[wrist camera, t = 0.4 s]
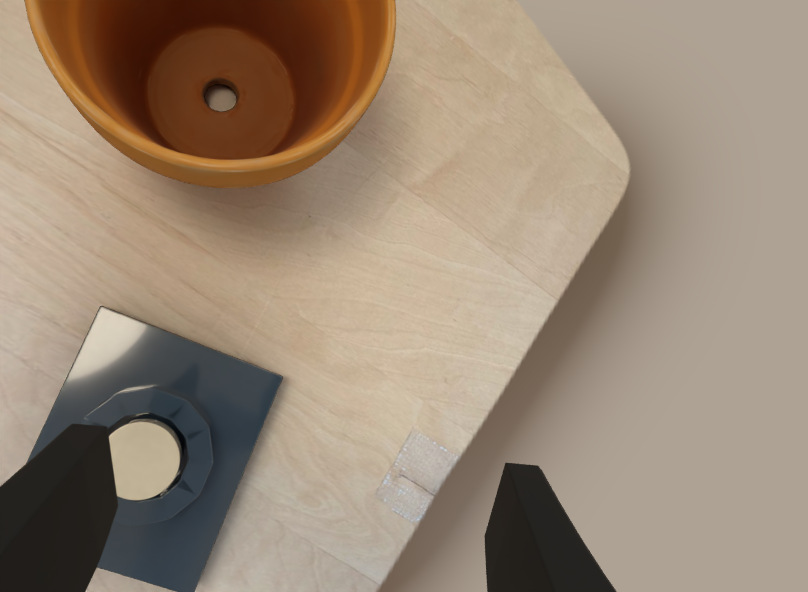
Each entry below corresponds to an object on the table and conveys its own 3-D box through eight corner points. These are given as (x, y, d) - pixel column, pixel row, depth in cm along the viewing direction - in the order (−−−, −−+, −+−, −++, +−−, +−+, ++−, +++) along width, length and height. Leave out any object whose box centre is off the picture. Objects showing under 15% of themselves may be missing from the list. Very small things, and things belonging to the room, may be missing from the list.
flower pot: (267, 274, 39) (290, 239, 26) (34, 139, 36) (-64, 29, 24) (385, 78, 42) (455, -38, 29) (176, -61, 39) (155, -255, 27)
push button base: (194, 582, 37) (191, 610, 33) (5, 524, 35) (-22, 546, 31) (280, 375, 39) (286, 377, 35) (107, 307, 37) (93, 302, 33)
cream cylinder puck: (163, 503, 33) (160, 511, 32) (90, 478, 32) (83, 485, 31) (193, 433, 34) (192, 437, 32) (122, 407, 33) (117, 410, 31)
